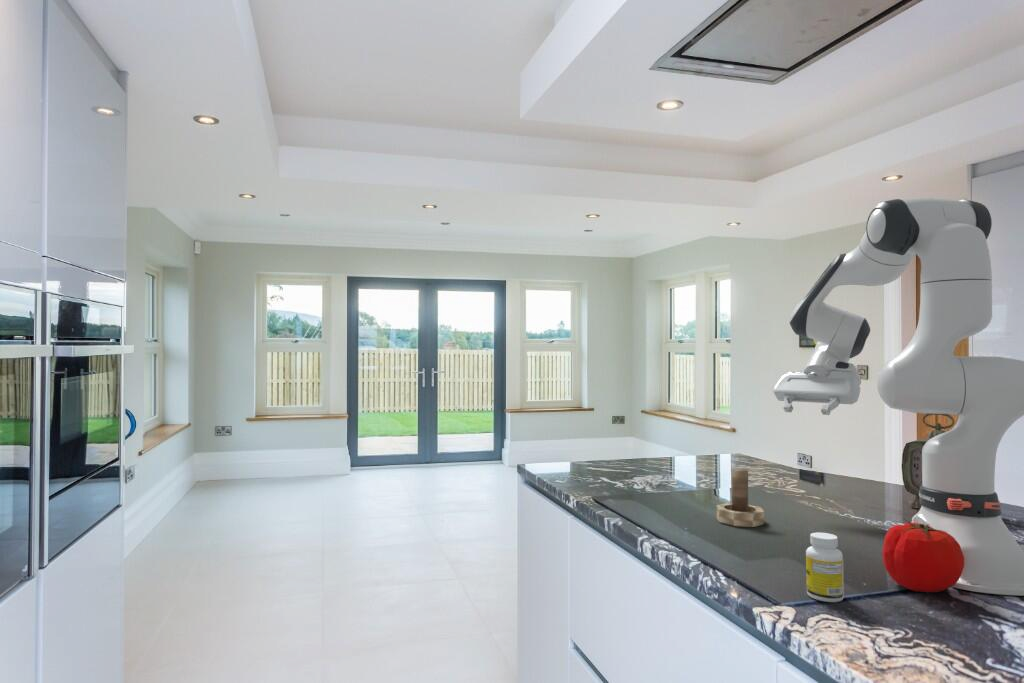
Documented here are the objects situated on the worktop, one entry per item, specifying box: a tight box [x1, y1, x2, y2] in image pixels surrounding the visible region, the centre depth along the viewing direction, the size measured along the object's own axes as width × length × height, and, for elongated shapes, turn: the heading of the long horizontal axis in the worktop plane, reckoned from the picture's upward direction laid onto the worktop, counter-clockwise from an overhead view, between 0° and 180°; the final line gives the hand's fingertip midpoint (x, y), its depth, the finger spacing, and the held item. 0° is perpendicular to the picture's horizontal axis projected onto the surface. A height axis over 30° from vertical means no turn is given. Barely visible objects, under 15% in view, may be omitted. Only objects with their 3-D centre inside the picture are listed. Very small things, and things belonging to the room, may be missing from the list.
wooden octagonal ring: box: [716, 502, 765, 528], centre depth 149 cm, size 10×10×3 cm
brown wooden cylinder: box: [731, 468, 749, 512], centre depth 149 cm, size 4×4×12 cm
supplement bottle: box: [805, 532, 845, 603], centre depth 102 cm, size 5×5×10 cm
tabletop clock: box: [901, 414, 955, 508], centre depth 161 cm, size 14×9×25 cm, turn 42°
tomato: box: [881, 517, 964, 593], centre depth 105 cm, size 12×12×11 cm
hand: (805, 411), depth 157 cm, fingers open, 8 cm apart
